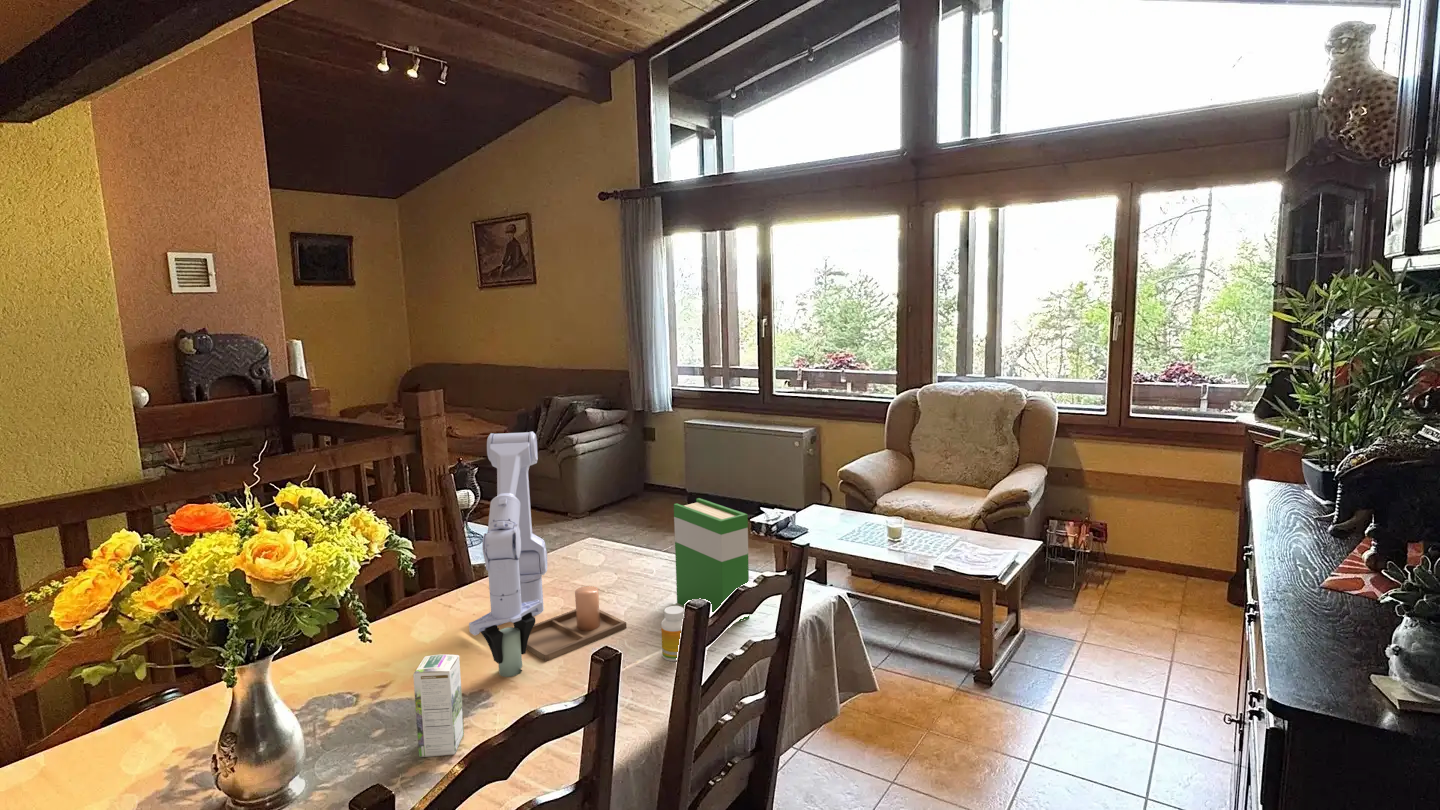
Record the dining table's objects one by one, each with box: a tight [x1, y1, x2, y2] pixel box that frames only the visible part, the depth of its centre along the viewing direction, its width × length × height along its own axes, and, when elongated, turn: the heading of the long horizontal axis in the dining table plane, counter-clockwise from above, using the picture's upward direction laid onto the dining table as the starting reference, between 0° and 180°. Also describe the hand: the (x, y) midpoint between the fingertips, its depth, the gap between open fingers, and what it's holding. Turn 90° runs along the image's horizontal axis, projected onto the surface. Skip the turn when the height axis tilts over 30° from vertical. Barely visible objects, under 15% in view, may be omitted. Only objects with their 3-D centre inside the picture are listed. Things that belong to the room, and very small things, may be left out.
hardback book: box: [673, 497, 750, 622], centre depth 168 cm, size 18×7×24 cm, turn 38°
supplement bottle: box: [660, 605, 685, 662], centre depth 148 cm, size 5×5×10 cm
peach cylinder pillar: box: [574, 585, 600, 631], centre depth 161 cm, size 5×5×8 cm
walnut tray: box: [526, 608, 627, 662], centre depth 158 cm, size 14×20×2 cm
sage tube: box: [498, 626, 523, 678], centre depth 143 cm, size 4×4×8 cm
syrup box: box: [412, 654, 465, 758], centre depth 119 cm, size 6×6×14 cm
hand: (509, 657), depth 144 cm, fingers closed on sage tube, 4 cm apart
